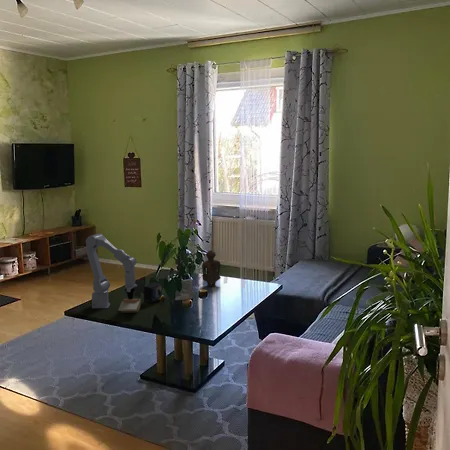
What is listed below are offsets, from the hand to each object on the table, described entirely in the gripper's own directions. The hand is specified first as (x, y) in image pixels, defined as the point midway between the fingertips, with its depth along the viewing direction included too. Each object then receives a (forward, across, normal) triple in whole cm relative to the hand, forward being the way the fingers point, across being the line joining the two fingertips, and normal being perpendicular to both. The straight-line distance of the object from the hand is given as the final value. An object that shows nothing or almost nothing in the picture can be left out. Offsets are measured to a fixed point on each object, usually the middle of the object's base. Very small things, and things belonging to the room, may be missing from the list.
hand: (130, 299), depth 285 cm
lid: (+2, -7, 0) cm, 7 cm away
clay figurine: (+6, +45, -49) cm, 67 cm away
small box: (+6, +16, -12) cm, 21 cm away
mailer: (+6, +2, 0) cm, 6 cm away
